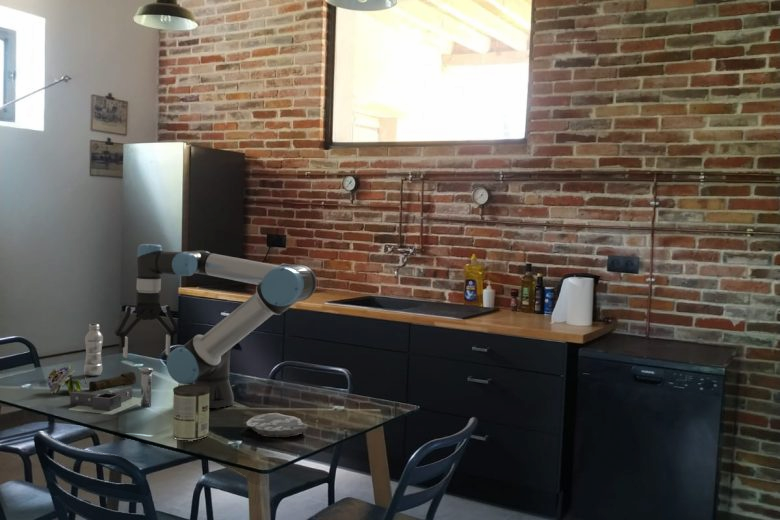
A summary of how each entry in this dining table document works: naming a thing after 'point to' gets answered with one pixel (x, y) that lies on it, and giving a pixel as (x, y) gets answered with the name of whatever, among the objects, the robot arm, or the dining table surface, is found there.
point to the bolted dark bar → (124, 393)
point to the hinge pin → (146, 386)
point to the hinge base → (96, 400)
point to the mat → (124, 406)
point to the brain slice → (276, 424)
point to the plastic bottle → (93, 351)
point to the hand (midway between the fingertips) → (146, 355)
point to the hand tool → (113, 381)
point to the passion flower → (63, 380)
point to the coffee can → (191, 412)
